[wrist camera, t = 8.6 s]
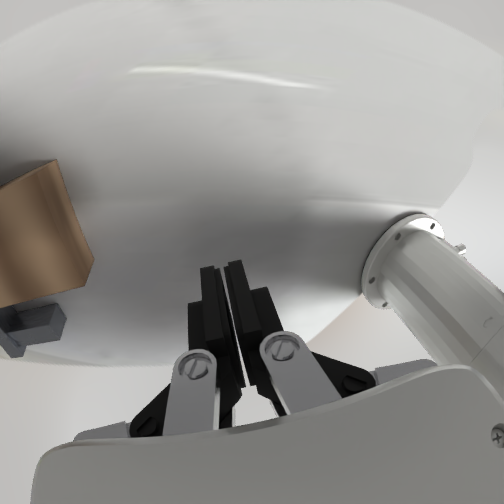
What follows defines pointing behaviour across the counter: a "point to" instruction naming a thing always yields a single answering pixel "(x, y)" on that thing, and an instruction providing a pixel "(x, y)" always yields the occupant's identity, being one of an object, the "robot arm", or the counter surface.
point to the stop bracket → (29, 327)
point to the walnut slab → (40, 238)
